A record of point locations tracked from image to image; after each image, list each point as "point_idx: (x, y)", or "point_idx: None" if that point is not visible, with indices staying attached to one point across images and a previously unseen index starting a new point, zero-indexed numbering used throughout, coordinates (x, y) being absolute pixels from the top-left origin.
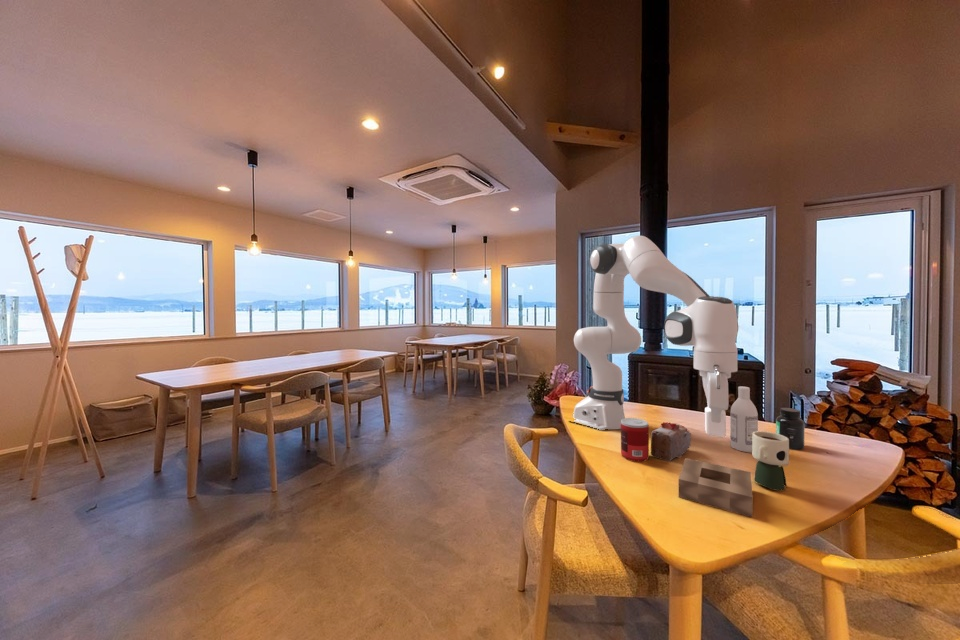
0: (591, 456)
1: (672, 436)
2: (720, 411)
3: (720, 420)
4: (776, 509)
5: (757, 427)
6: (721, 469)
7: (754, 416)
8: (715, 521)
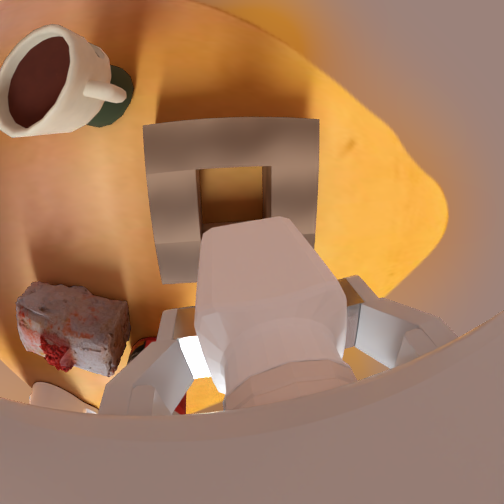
0: (221, 398)
1: (97, 338)
2: (421, 316)
3: (360, 279)
4: (229, 76)
5: None
6: (177, 194)
7: None
8: (355, 184)
